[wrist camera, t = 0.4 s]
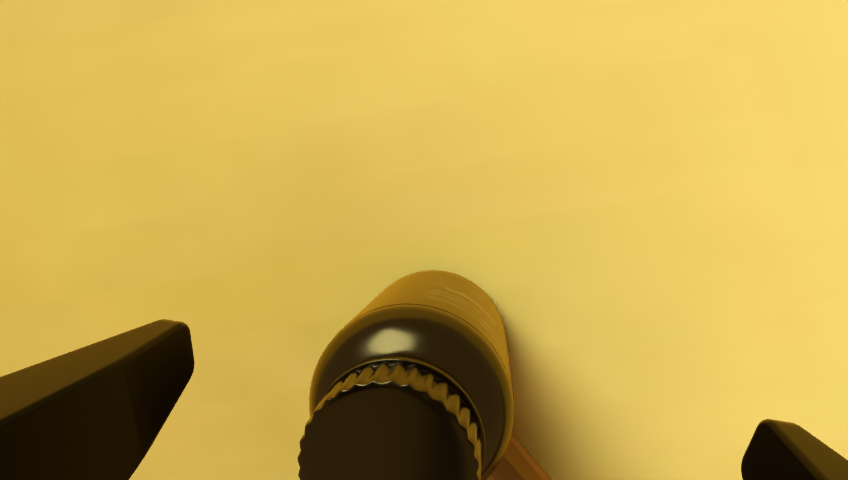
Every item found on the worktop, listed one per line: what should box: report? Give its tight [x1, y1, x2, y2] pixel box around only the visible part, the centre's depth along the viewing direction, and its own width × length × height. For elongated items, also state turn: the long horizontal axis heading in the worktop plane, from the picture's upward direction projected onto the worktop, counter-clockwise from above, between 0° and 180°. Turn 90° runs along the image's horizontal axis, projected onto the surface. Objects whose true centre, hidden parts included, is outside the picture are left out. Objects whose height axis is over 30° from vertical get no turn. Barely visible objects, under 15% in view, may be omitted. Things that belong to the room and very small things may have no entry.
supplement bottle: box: [298, 270, 514, 480], centre depth 19 cm, size 7×7×12 cm
